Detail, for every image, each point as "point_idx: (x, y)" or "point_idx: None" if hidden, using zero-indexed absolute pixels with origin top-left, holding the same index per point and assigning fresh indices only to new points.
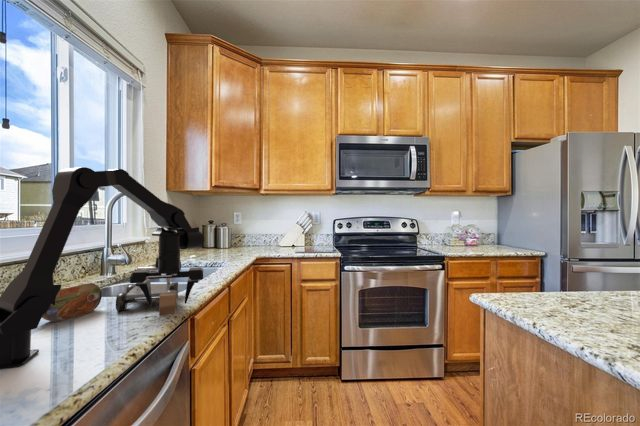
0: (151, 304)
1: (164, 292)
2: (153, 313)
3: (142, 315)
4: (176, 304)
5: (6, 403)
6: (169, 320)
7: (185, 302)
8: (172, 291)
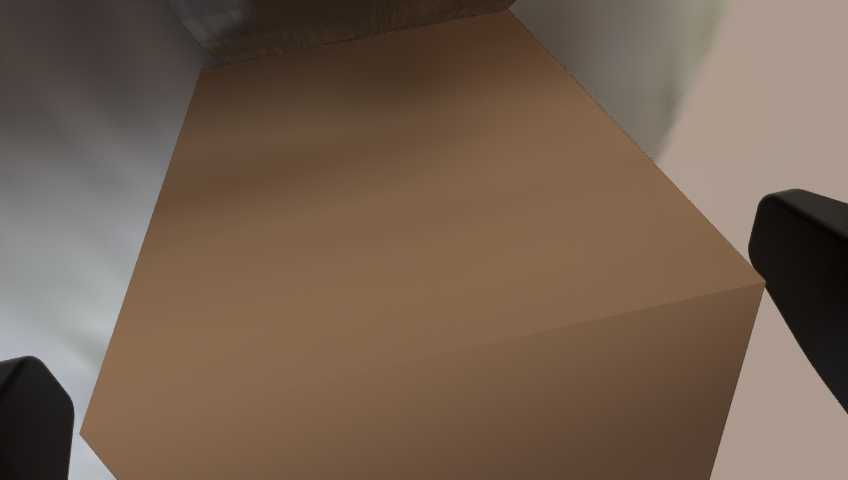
0: (36, 382)
1: (256, 476)
2: None
3: (6, 335)
4: (545, 65)
5: None
6: None
7: (776, 282)
8: (572, 340)
